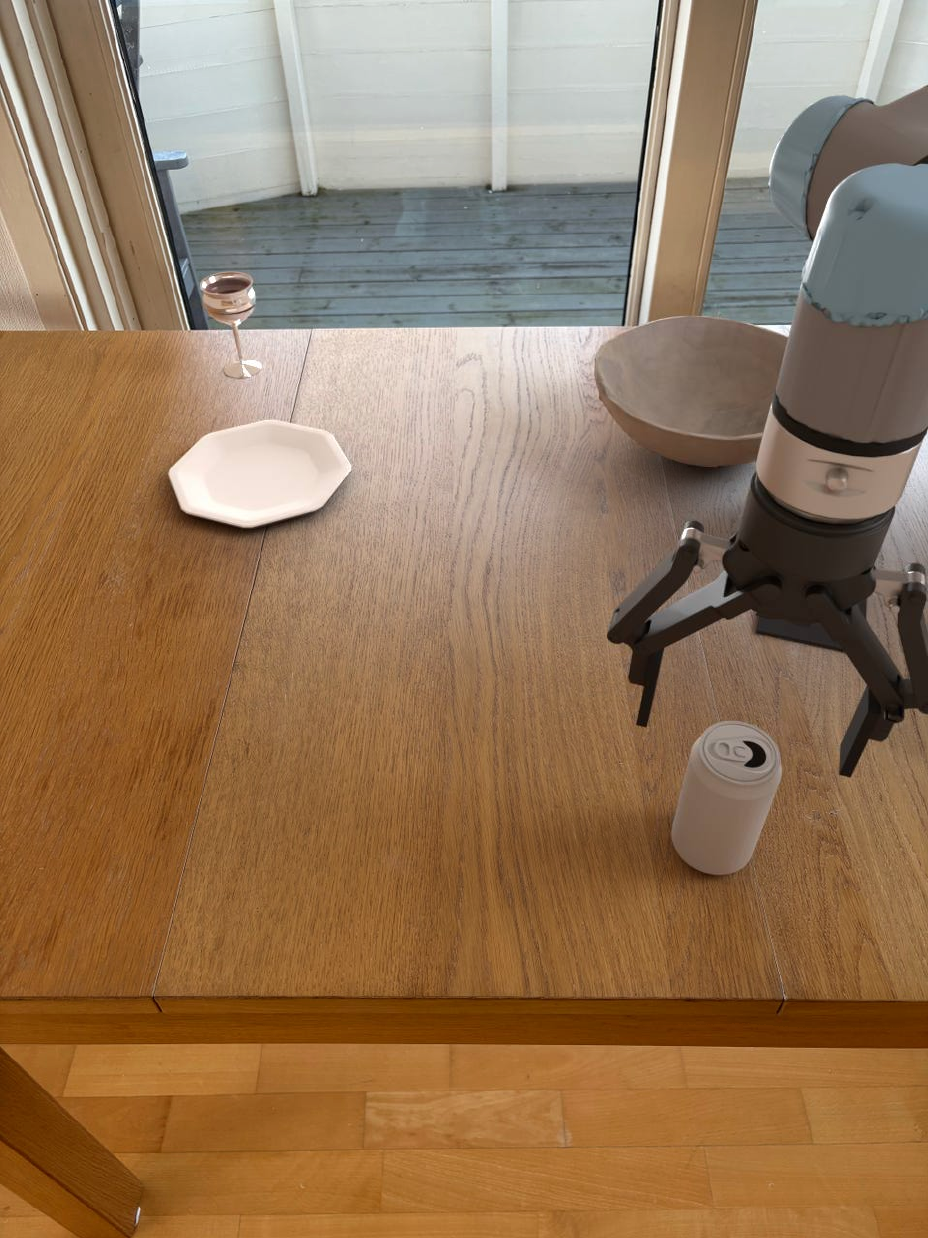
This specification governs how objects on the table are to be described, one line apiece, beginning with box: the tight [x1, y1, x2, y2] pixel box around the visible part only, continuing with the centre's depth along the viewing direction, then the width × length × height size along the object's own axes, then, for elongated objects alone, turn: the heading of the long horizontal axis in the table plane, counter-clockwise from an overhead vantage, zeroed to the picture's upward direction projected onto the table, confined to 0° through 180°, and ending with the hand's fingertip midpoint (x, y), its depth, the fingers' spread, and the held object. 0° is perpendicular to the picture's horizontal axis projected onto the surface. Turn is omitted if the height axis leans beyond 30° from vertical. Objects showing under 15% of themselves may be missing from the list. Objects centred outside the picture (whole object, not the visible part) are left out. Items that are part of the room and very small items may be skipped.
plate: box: [167, 419, 352, 530], centre depth 109 cm, size 20×20×2 cm
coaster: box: [755, 598, 868, 653], centre depth 94 cm, size 10×10×1 cm
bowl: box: [593, 315, 789, 468], centre depth 111 cm, size 26×26×10 cm
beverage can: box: [670, 720, 783, 876], centre depth 71 cm, size 6×6×12 cm
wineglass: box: [199, 271, 262, 379], centre depth 124 cm, size 7×7×12 cm
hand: (742, 736), depth 65 cm, fingers open, 13 cm apart
